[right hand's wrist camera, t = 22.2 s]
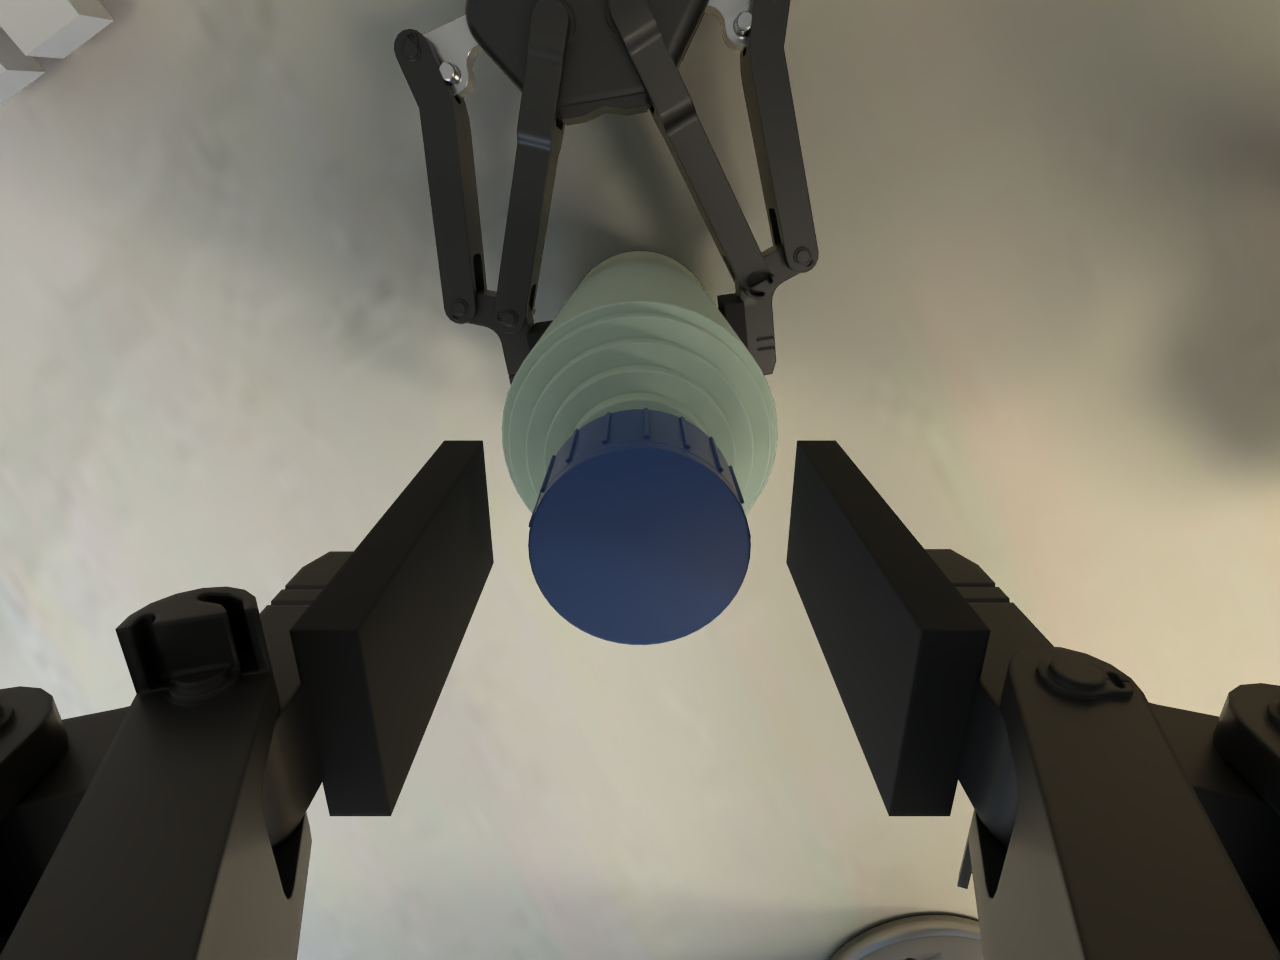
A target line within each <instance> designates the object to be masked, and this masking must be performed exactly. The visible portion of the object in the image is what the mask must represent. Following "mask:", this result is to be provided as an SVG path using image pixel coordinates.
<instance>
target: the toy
mask: <svg viewBox="0 0 1280 960" xmlns="http://www.w3.org/2000/svg"><path fill="white" fill-rule="evenodd" d="M113 21H114V19H113V18H112V17H111V16H110V14H109V13H108V12H107V10H106V9H105V8H104V6H103V5H102V4H101V3H100V1H99V0H0V106H1V105H3V104H4V103H5V102H7V101H8V100H9V99H11V98H12V97H13V96H15V95H16V94H17V93H19V92H20V91H21V90H22V89H24V88H25V87H26V86H28V85H29V84H30V83H32V82H33V81H34V80H36V79H37V78H38V77H40V76H41V75H42V74H44V73H45V71H44V69H43V68H42V67H41V66H40V65H39V63H38V62H37V61H36V60H35V59H34V58H33V56H36V57H49V58H62V59H64V58H65V57H66V56H68V55H69V54H70V53H72V52H73V51H74V50H76V49H77V48H78V47H80V46H81V45H82V44H84V43H85V42H86V41H88V40H89V39H90V38H92V37H93V36H94V35H96V34H97V33H98V32H100V31H101V30H102V29H104V28H105V27H106V26H108V25H109V24H110V23H112V22H113Z"/></svg>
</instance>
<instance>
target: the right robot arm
mask: <svg viewBox="0 0 1280 960" xmlns="http://www.w3.org/2000/svg"><path fill="white" fill-rule="evenodd" d="M492 565H493V551H492V540H491V529H490V517H489V506H488V495H487V483H486V472H485V461H484V449H483V441H444V442H443V443H442V444H441V445H440V447H439V448H438V449H437V450H436V452H435V453H434V454H433V455H432V456H431V458H430V459H429V460H428V461H427V463H426V464H425V465H424V466H423V467H422V469H421V470H420V471H419V472H418V474H417V475H416V476H415V477H414V478H413V480H412V481H411V482H410V483H409V485H408V486H407V487H406V488H405V490H404V491H403V492H402V493H401V494H400V496H399V497H398V498H397V499H396V501H395V502H394V503H393V504H392V505H391V507H390V508H389V509H388V510H387V512H386V513H385V514H384V515H383V516H382V518H381V519H380V520H379V521H378V523H377V524H376V525H375V526H374V527H373V529H372V530H371V531H370V532H369V534H368V535H367V536H366V537H365V538H364V540H363V541H362V542H361V543H360V545H359V546H358V547H357V548H356V549H355V551H354V552H328V553H327V554H325V555H323V556H321V557H320V558H318V559H316V560H314V561H313V562H311V563H309V564H307V565H306V566H304V567H302V568H301V570H300V571H299V572H298V573H297V574H296V575H295V576H294V577H293V578H292V579H291V580H290V581H289V583H288V584H287V585H286V586H285V587H286V588H285V590H281V591H280V592H279V593H278V594H277V596H276V597H275V598H274V599H273V600H272V601H271V605H267V606H266V607H265V609H264V610H263V611H262V612H261V613H260V614H259V610H258V606H257V602H256V598H255V597H254V596H253V595H252V594H250V593H249V592H247V591H246V590H243V589H237V588H231V587H213V588H201V589H196V590H192V591H187V592H183V593H178V594H175V595H172V596H169V597H167V598H164V599H161V600H159V601H156V602H153V603H151V604H149V605H147V606H145V607H144V608H142V609H140V610H138V611H137V612H135V613H133V614H131V615H130V616H129V617H128V618H126V619H125V620H124V621H123V622H122V623H121V624H120V625H119V626H118V627H117V628H116V633H117V636H118V639H119V642H120V645H121V648H122V651H123V654H124V657H125V660H126V663H127V666H128V669H129V672H130V675H131V678H132V681H133V684H134V687H135V690H136V693H137V695H136V696H135V698H134V700H133V702H132V704H131V706H129V707H125V708H120V709H115V710H110V711H105V712H100V713H95V714H89V715H84V716H79V717H74V718H69V719H64V720H61V717H60V715H59V712H58V709H57V707H56V704H55V702H54V699H53V696H52V695H50V694H49V693H47V692H46V691H44V690H43V689H41V688H31V687H13V688H6V689H0V960H297V952H298V945H299V937H300V929H301V921H302V913H303V906H304V898H305V890H306V882H307V875H308V867H309V859H310V851H311V843H312V839H311V832H310V826H309V822H308V817H307V813H306V810H307V809H308V807H309V805H310V803H311V801H312V800H313V798H314V796H315V794H316V792H317V790H318V789H319V787H320V785H321V783H322V782H323V786H324V791H325V796H326V800H327V805H328V809H329V814H330V816H391V814H392V812H393V809H394V807H395V804H396V802H397V799H398V797H399V795H400V792H401V790H402V787H403V785H404V782H405V780H406V777H407V775H408V772H409V770H410V767H411V765H412V762H413V760H414V758H415V755H416V753H417V750H418V748H419V745H420V743H421V740H422V738H423V735H424V733H425V730H426V728H427V725H428V723H429V721H430V718H431V716H432V713H433V711H434V708H435V706H436V703H437V701H438V698H439V696H440V693H441V691H442V688H443V686H444V684H445V681H446V679H447V676H448V674H449V671H450V669H451V666H452V664H453V661H454V659H455V656H456V654H457V651H458V649H459V647H460V644H461V642H462V639H463V637H464V634H465V632H466V629H467V627H468V624H469V622H470V619H471V617H472V614H473V612H474V610H475V607H476V605H477V602H478V600H479V597H480V595H481V592H482V590H483V587H484V585H485V582H486V580H487V577H488V575H489V573H490V570H491V568H492ZM787 565H788V568H789V570H790V573H791V575H792V577H793V580H794V582H795V585H796V587H797V590H798V592H799V595H800V597H801V600H802V602H803V605H804V607H805V610H806V612H807V614H808V617H809V619H810V622H811V624H812V627H813V629H814V632H815V634H816V637H817V639H818V642H819V644H820V647H821V649H822V651H823V654H824V656H825V659H826V661H827V664H828V666H829V669H830V671H831V674H832V676H833V679H834V681H835V684H836V686H837V688H838V691H839V693H840V696H841V698H842V701H843V703H844V706H845V708H846V711H847V713H848V716H849V718H850V721H851V723H852V725H853V728H854V730H855V733H856V735H857V738H858V740H859V743H860V745H861V748H862V750H863V753H864V755H865V758H866V760H867V762H868V765H869V767H870V770H871V772H872V775H873V777H874V780H875V782H876V785H877V787H878V790H879V792H880V795H881V797H882V799H883V802H884V804H885V807H886V809H887V812H888V814H889V816H950V814H951V809H952V805H953V800H954V796H955V791H956V786H957V782H958V779H959V781H960V783H961V785H962V787H963V789H964V790H965V792H966V794H967V796H968V798H969V799H970V801H971V803H972V805H973V807H974V813H973V817H972V822H971V826H970V830H969V834H968V839H967V843H966V847H965V851H964V855H963V860H962V864H961V868H960V873H959V879H958V887H962V888H966V889H967V888H968V884H969V880H970V876H971V873H973V880H974V888H975V896H976V904H977V911H978V919H979V922H978V921H975V920H971V919H967V918H962V917H956V916H947V915H924V916H915V917H908V918H903V919H898V920H894V921H891V922H888V923H885V924H882V925H879V926H876V927H874V928H872V929H870V930H867V931H865V932H863V933H862V934H860V935H858V936H856V937H855V938H853V939H852V940H850V941H849V942H848V943H846V944H845V945H844V946H843V947H841V948H840V949H839V950H838V951H837V952H836V953H835V954H834V955H833V957H832V958H831V959H830V960H1280V686H1277V685H1270V684H1263V683H1258V684H1247V685H1240V686H1238V687H1237V688H1235V689H1234V690H1232V691H1231V692H1229V694H1228V696H1227V699H1226V702H1225V704H1224V707H1223V709H1222V712H1221V715H1220V717H1218V716H1212V715H1207V714H1202V713H1197V712H1192V711H1187V710H1182V709H1177V708H1171V707H1166V706H1161V705H1156V704H1152V703H1148V701H1147V699H1146V697H1145V695H1144V693H1143V692H1142V691H1141V690H1140V688H1139V687H1138V686H1137V685H1136V684H1135V682H1134V681H1133V680H1132V679H1131V678H1130V677H1128V676H1127V675H1125V674H1124V673H1123V672H1121V671H1120V670H1118V669H1117V668H1115V667H1114V666H1112V665H1111V664H1109V663H1106V662H1104V661H1102V660H1099V659H1097V658H1095V657H1093V656H1090V655H1088V654H1085V653H1081V652H1077V651H1073V650H1069V649H1065V648H1061V647H1054V646H1053V645H1052V644H1051V643H1050V642H1049V641H1048V640H1047V639H1046V638H1045V636H1044V635H1043V634H1042V633H1041V632H1040V631H1039V630H1038V629H1037V628H1036V627H1035V626H1034V625H1033V624H1032V623H1031V621H1030V620H1029V619H1028V618H1027V617H1026V616H1025V615H1024V614H1023V613H1022V612H1021V611H1020V610H1019V609H1018V607H1017V606H1016V605H1015V604H1014V603H1010V602H1009V598H1008V597H1007V596H1006V595H1005V593H1004V592H1003V591H1002V590H1001V589H1000V588H999V587H995V583H994V582H993V581H992V579H991V578H990V577H989V576H988V575H987V574H986V573H985V572H984V571H983V570H982V569H981V568H980V567H979V565H977V564H975V563H974V562H972V561H970V560H968V559H967V558H965V557H963V556H961V555H960V554H958V553H956V552H954V551H953V550H951V549H924V548H923V547H922V546H921V545H920V543H919V542H918V541H917V540H916V538H915V537H914V536H913V535H912V534H911V532H910V531H909V530H908V529H907V527H906V526H905V525H904V524H903V523H902V521H901V520H900V519H899V518H898V516H897V515H896V514H895V513H894V512H893V510H892V509H891V508H890V507H889V505H888V504H887V503H886V502H885V501H884V499H883V498H882V497H881V496H880V494H879V493H878V492H877V491H876V490H875V488H874V487H873V486H872V485H871V483H870V482H869V481H868V480H867V478H866V477H865V476H864V475H863V474H862V472H861V471H860V470H859V469H858V467H857V466H856V465H855V464H854V463H853V461H852V460H851V459H850V458H849V456H848V455H847V454H846V453H845V452H844V450H843V449H842V448H841V447H840V445H839V444H838V443H837V442H836V441H797V449H796V461H795V472H794V483H793V495H792V506H791V517H790V529H789V540H788V551H787Z"/></svg>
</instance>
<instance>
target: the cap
mask: <svg viewBox="0 0 1280 960" xmlns="http://www.w3.org/2000/svg"><path fill="white" fill-rule="evenodd" d="M743 503H745V502H744V499H743V496H742V493H741V490H740V488H739V485H738V482H737V479H736V476H735V473H734V470H733V468H732V465H731V466H728V464H727V461H726V459H725V458H724V456H723V454H722V452H721V451H720V449H719V448H718V447H717V445H716V443H715V440H714V438H713V437H712V436H711V437H710V438H709V437H708V436H707V435H706V434H705V433H704V432H703V431H702V430H700V429H699V428H698V427H696V426H695V425H693V424H692V423H690V422H688V421H686V420H685V418H684V417H682V416H681V417H677V416H675V415H672V414H669V413H665V412H661V411H656V410H648V408H644V409H631V410H624V411H618V412H614V413H610V412H607V413H606V415H604V416H602V417H599V418H597V419H595V420H593V421H591V422H589V423H588V424H586V425H584V426H583V427H581V428H580V429H579V430H578V429H577V428H576V429H575V430H574V432H573V435H572V436H571V437H570V438H569V439H568V440H567V441H566V442H565V443H564V444H563V446H562V447H561V448H560V450H559V451H558V453H557V454H556V456H554V455H552V457H551V460H550V463H549V466H548V468H547V471H546V474H545V477H544V480H543V483H542V486H541V489H540V493H539V496H538V499H537V502H536V505H535V508H534V511H533V514H532V517H531V520H530V522H529V527H530V532H529V544H528V547H529V559H530V564H531V568H532V572H533V575H534V577H535V580H536V583H537V585H538V586H539V588H540V590H541V592H542V594H543V595H544V597H545V598H546V599H547V601H548V602H549V604H550V605H551V606H552V607H553V608H554V609H555V610H556V611H557V612H558V613H559V614H560V615H561V616H562V617H563V618H564V619H566V620H567V621H568V622H569V623H571V624H572V625H574V626H575V627H577V628H579V629H580V630H582V631H584V632H586V633H588V634H590V635H592V636H595V637H598V638H601V639H604V640H607V641H611V642H616V643H621V644H630V645H649V644H658V643H663V642H668V641H672V640H676V639H678V638H681V637H684V636H687V635H689V634H691V633H693V632H695V631H697V630H699V629H701V628H702V627H704V626H705V625H707V624H708V623H710V622H711V621H712V620H713V619H715V618H716V617H717V616H718V615H720V614H721V612H722V611H723V610H724V609H725V608H726V607H727V606H728V605H729V604H730V602H731V601H732V600H733V598H734V597H735V595H736V594H737V592H738V590H739V588H740V586H741V585H742V583H743V580H744V577H745V575H746V572H747V569H748V564H749V559H750V547H751V543H750V538H751V535H750V531H749V527H748V523H747V519H746V516H745V513H744V510H743V507H742V504H743Z"/></svg>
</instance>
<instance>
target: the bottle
mask: <svg viewBox="0 0 1280 960" xmlns="http://www.w3.org/2000/svg"><path fill="white" fill-rule="evenodd" d="M644 408H648V410H656V411H661V412H665V413H669V414H672V415H675V416H677V417H681V416H682V417H684V418H685V420H686V421H688V422H690V423H692V424H693V425H695V426H696V427H698V428H699V429H700V430H702V431H703V432H704V433H705V434H706V435H707V436H708V437H709V438H710V437H711V436H712V437H713V438H714V440H715V443H716V445H717V447H718V448H719V449H720V451H721V452H722V454H723V456H724V458H725V459H726V461H727V464H728V466H731V465H732V468H733V470H734V473H735V476H736V479H737V482H738V485H739V488H740V490H741V493H742V496H743V499H744V502H745V503H743V504H742V507H743V510H744V513H745V515H746V514H747V513H748V512H749V510H750V509H751V508H752V506H753V505H754V504H755V502H756V501H757V499H758V498H759V496H760V494H761V492H762V490H763V489H764V487H765V485H766V482H767V480H768V477H769V475H770V472H771V469H772V465H773V462H774V458H775V453H776V444H777V418H776V411H775V405H774V401H773V398H772V394H771V391H770V388H769V385H768V383H767V381H766V379H765V377H764V375H763V372H762V370H761V369H760V367H759V366H758V364H757V363H756V361H755V360H754V358H753V356H752V355H751V354H750V352H749V351H748V349H747V348H746V347H745V345H744V344H743V343H742V341H741V340H740V338H739V337H738V336H737V334H736V333H735V331H734V330H733V329H732V327H731V326H730V325H729V323H728V322H727V320H726V319H725V318H724V316H723V315H722V314H721V312H720V311H719V309H718V308H717V307H716V305H715V304H714V303H713V301H712V300H711V298H710V297H709V296H708V294H707V293H706V292H705V290H704V289H703V287H702V286H701V285H700V283H699V282H698V280H697V279H696V278H695V277H694V276H693V275H692V273H691V272H690V271H689V270H688V269H686V268H685V267H684V266H683V265H681V264H680V263H678V262H677V261H675V260H674V259H672V258H669V257H667V256H665V255H662V254H659V253H654V252H649V251H631V252H625V253H621V254H618V255H615V256H612V257H610V258H608V259H606V260H604V261H603V262H601V263H600V264H598V265H597V266H596V267H594V268H593V269H592V270H591V271H590V272H589V273H588V274H587V275H586V276H585V278H584V279H583V280H582V282H581V283H580V284H579V286H578V287H577V288H576V290H575V291H574V293H573V294H572V295H571V297H570V298H569V299H568V301H567V302H566V303H565V305H564V306H563V308H562V309H561V310H560V312H559V313H558V314H557V316H556V317H555V319H554V320H553V321H552V323H551V324H550V325H549V327H548V328H547V330H546V331H545V332H544V334H543V335H542V336H541V338H540V339H539V340H538V342H537V343H536V345H535V346H534V347H533V349H532V350H531V351H530V353H529V354H528V356H527V357H526V358H525V360H524V361H523V363H522V365H521V366H520V368H519V370H518V372H517V373H516V375H515V377H514V379H513V382H512V384H511V387H510V389H509V392H508V395H507V399H506V403H505V407H504V413H503V422H502V441H503V450H504V455H505V461H506V464H507V467H508V471H509V474H510V477H511V479H512V481H513V483H514V486H515V488H516V490H517V492H518V494H519V495H520V497H521V498H522V500H523V501H524V503H525V505H526V506H527V507H528V509H529V510H530V511H531V512H532V513H533V511H534V508H535V505H536V502H537V499H538V496H539V493H540V489H541V486H542V483H543V480H544V477H545V474H546V471H547V468H548V466H549V463H550V460H551V457H552V455H554V456H556V454H557V453H558V451H559V450H560V448H561V447H562V446H563V444H564V443H565V442H566V441H567V440H568V439H569V438H570V437H571V436H572V435H573V432H574V430H575V429H576V428H577V429H578V430H579V429H580V428H581V427H583V426H584V425H586V424H588V423H589V422H591V421H593V420H595V419H597V418H599V417H602V416H604V415H606V413H607V412H610V413H614V412H618V411H624V410H631V409H644Z"/></svg>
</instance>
